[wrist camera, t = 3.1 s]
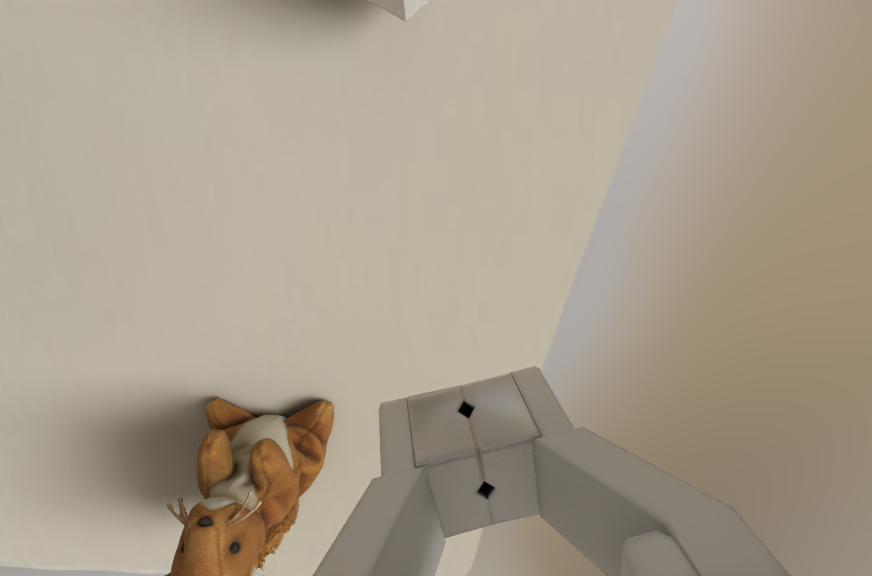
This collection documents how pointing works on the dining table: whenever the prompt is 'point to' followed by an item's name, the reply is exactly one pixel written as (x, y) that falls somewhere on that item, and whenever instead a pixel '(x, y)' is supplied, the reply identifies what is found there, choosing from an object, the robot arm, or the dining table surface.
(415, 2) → the die
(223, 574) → the stuffed squirrel
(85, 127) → the dining table surface
